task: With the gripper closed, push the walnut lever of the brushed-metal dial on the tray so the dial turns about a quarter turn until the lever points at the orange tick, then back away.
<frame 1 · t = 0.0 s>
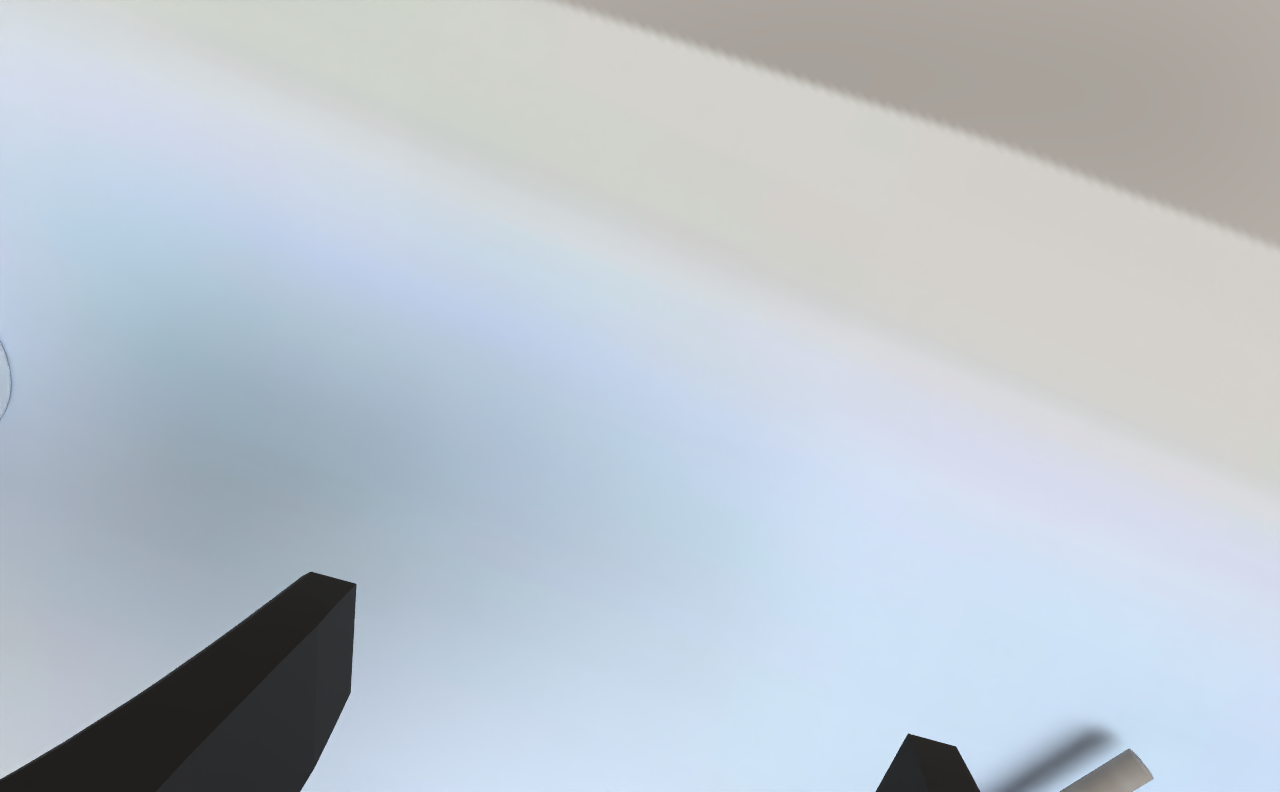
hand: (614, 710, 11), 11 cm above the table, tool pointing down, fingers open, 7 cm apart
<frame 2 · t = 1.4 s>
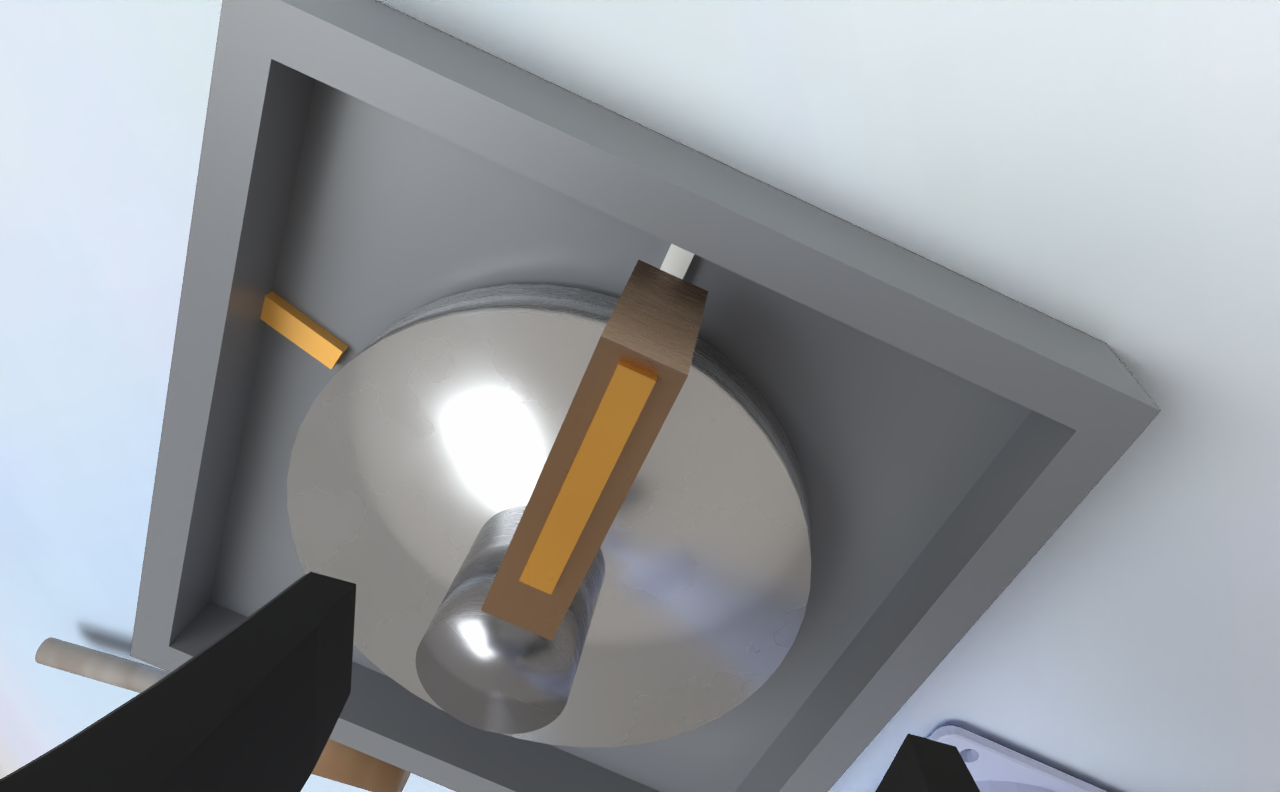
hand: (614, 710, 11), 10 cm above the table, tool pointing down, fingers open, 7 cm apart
tray: (571, 484, 22), on the table
dial: (538, 567, 18), point 4 cm above the table, hinge at 0.0°
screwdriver: (275, 674, 27), on the table, tilted 28°
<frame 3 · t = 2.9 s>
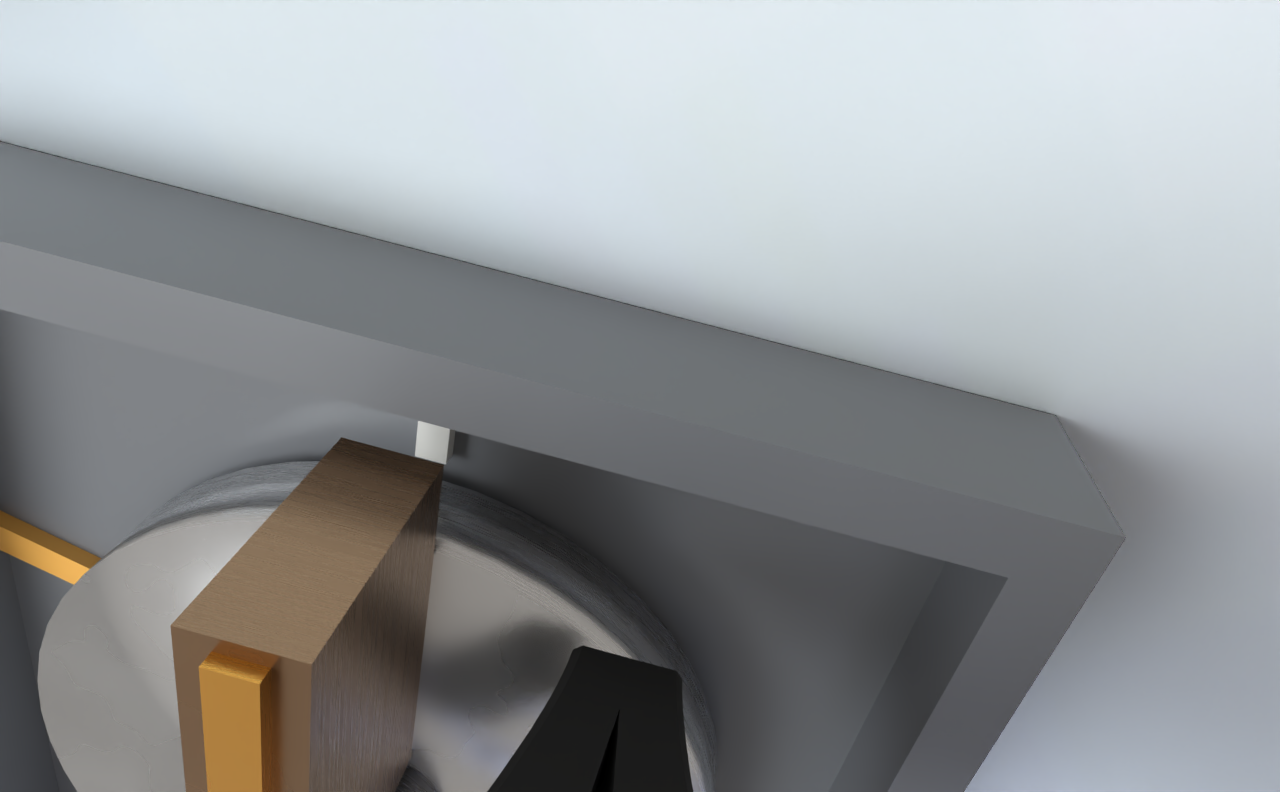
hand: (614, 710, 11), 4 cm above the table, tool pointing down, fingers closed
tray: (431, 669, 17), on the table
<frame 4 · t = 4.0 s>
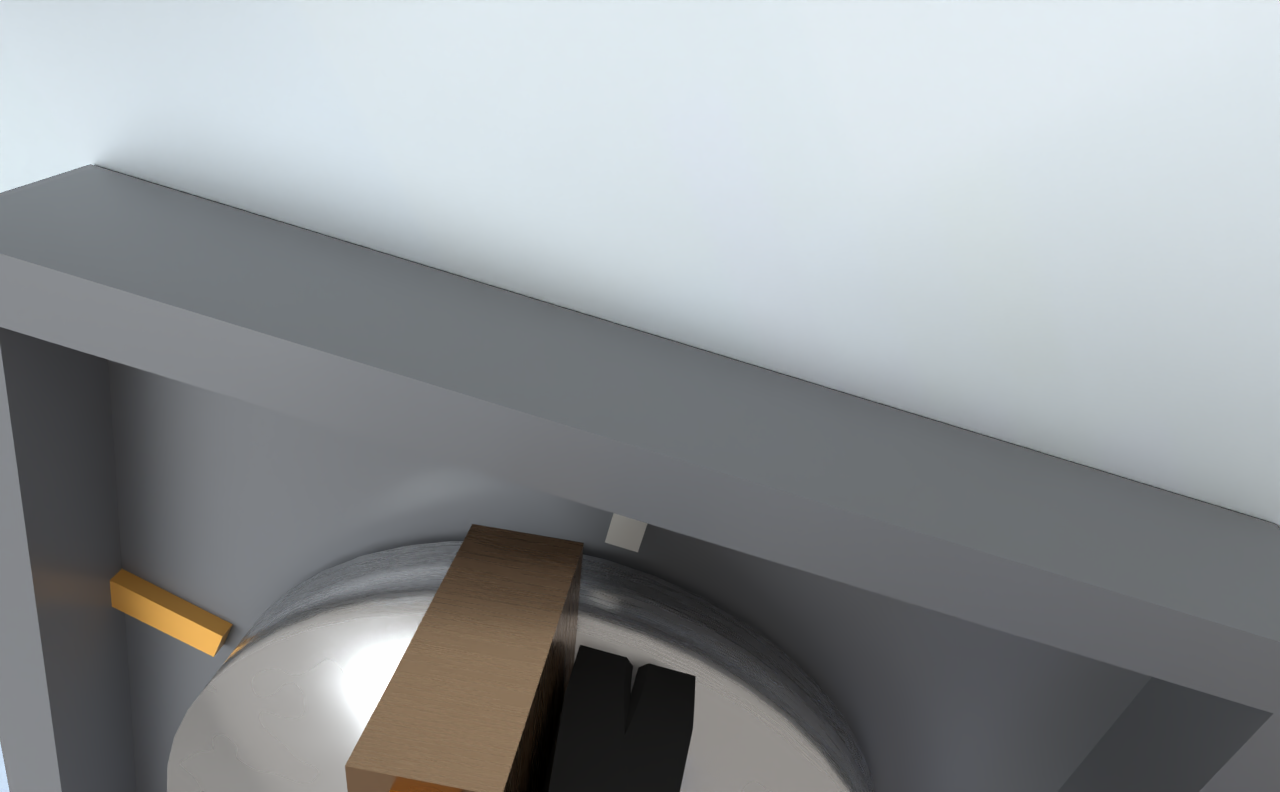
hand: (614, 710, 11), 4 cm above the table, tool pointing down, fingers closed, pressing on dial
tray: (556, 738, 17), on the table
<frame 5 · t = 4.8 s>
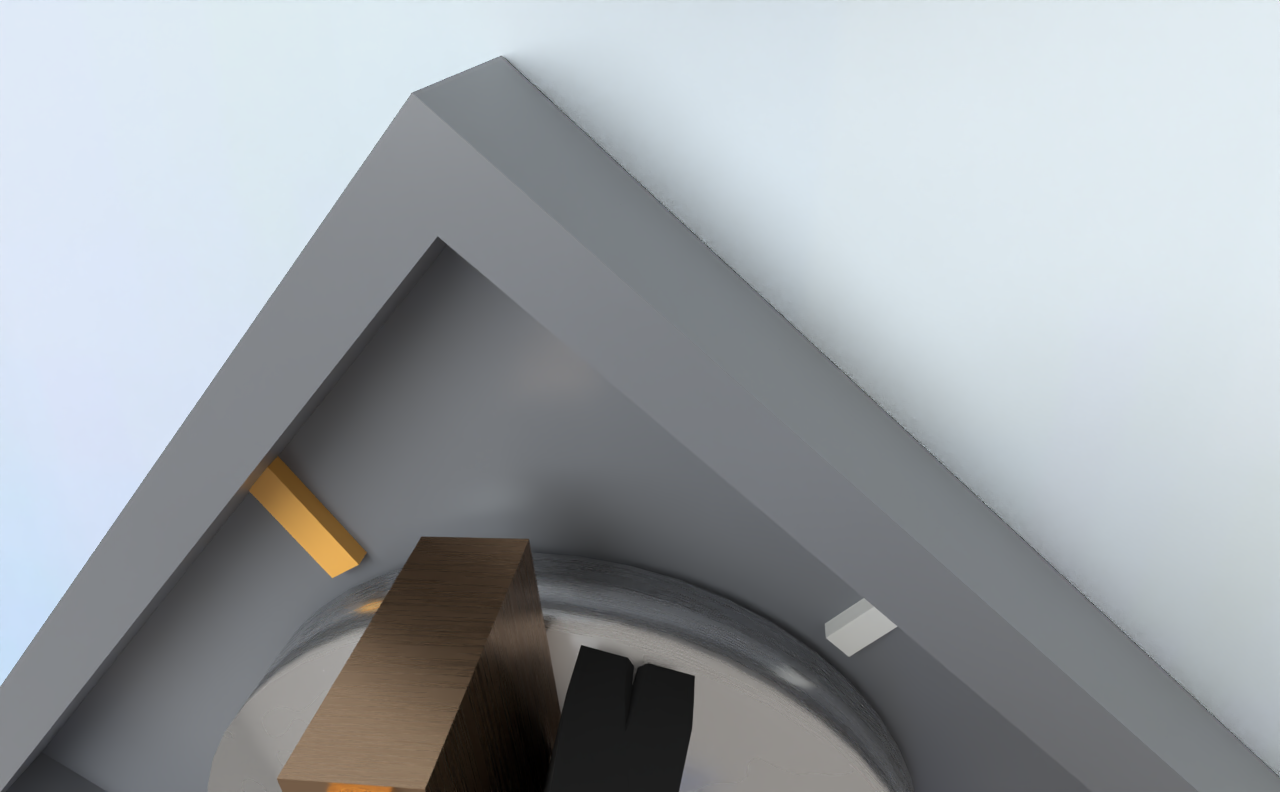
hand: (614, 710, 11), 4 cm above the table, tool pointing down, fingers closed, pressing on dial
tray: (590, 746, 17), on the table
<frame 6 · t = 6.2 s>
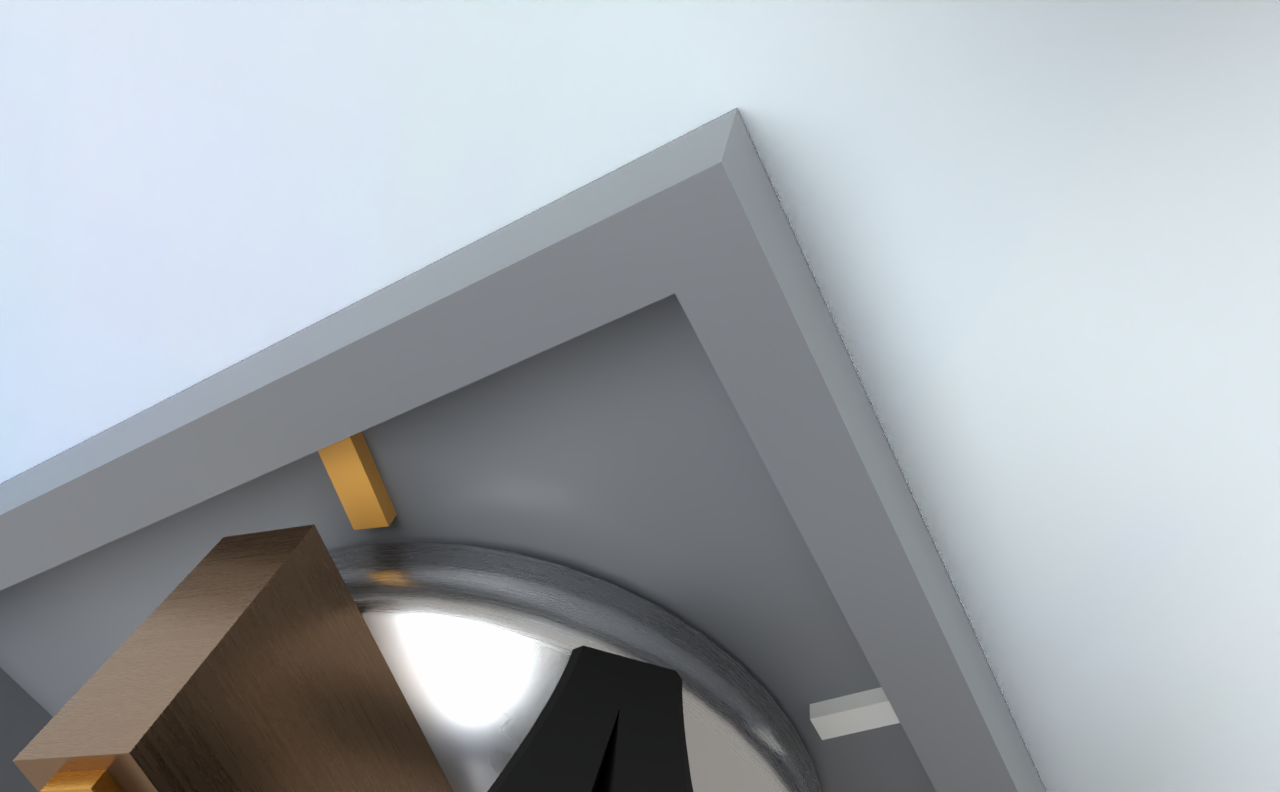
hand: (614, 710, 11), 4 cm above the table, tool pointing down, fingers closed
tray: (516, 736, 17), on the table
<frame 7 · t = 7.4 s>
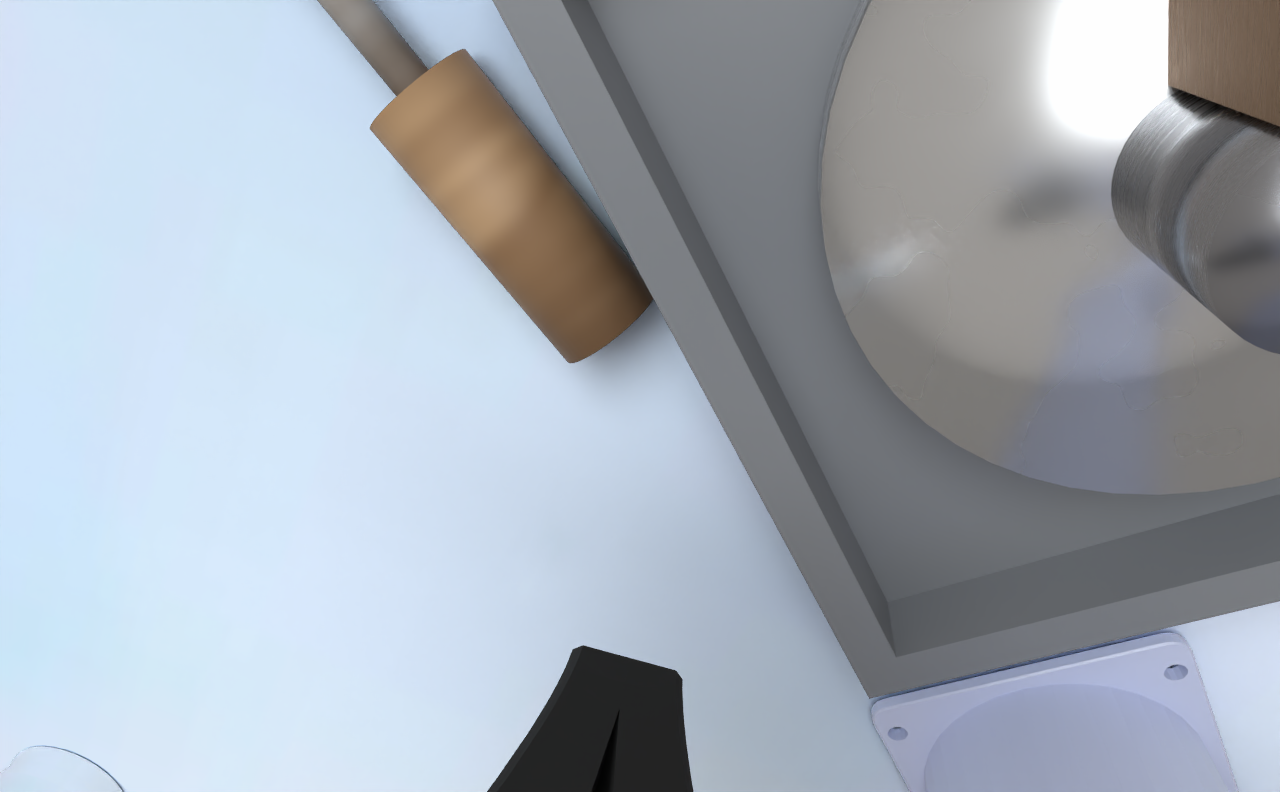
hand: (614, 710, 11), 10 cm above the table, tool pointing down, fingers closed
tray: (1142, 133, 16), on the table
dial: (1252, 138, 12), point 4 cm above the table, hinge at 77.0°
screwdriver: (476, 118, 18), on the table, tilted 5°
cup with straw: (72, 778, 32), on the table
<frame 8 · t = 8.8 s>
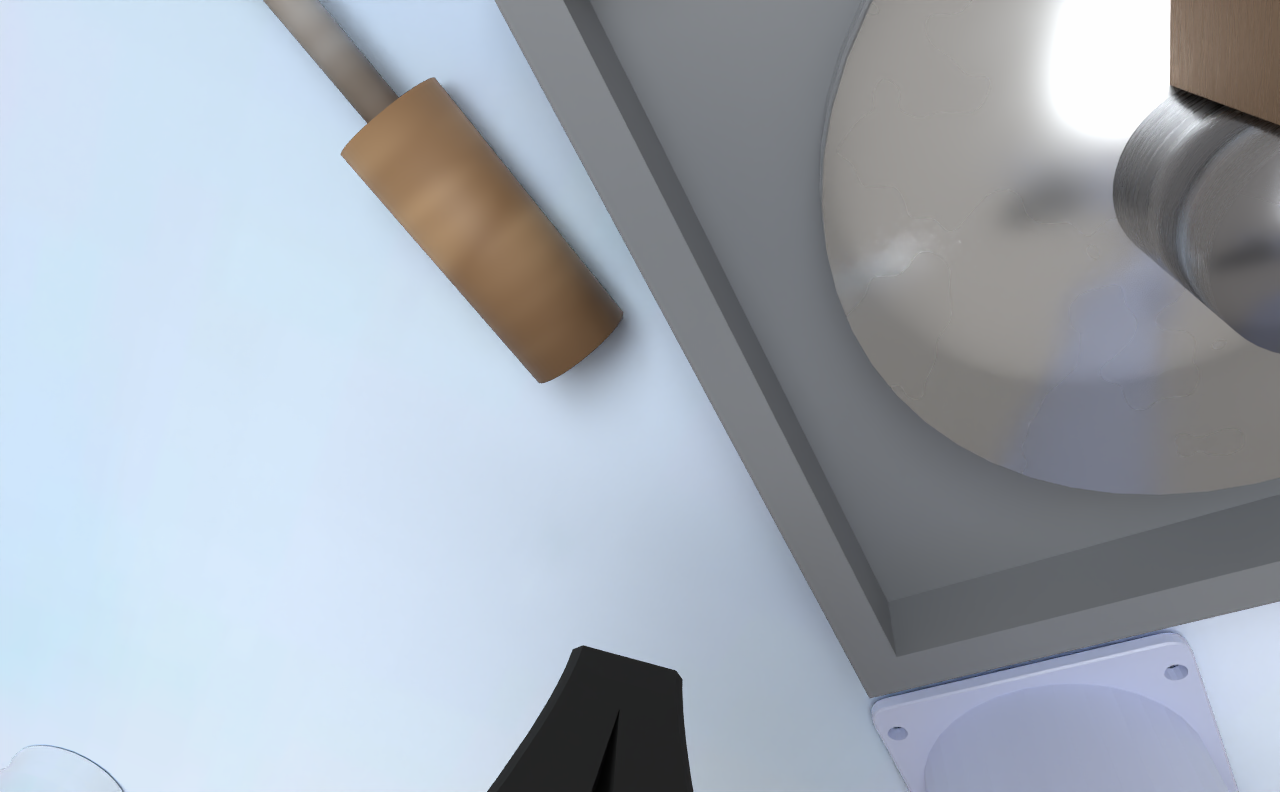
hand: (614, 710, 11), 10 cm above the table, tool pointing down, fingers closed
tray: (1144, 133, 16), on the table
dial: (1254, 138, 12), point 4 cm above the table, hinge at 77.0°
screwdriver: (467, 123, 17), on the table, tilted 50°
cup with straw: (72, 777, 32), on the table
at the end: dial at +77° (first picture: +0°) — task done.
